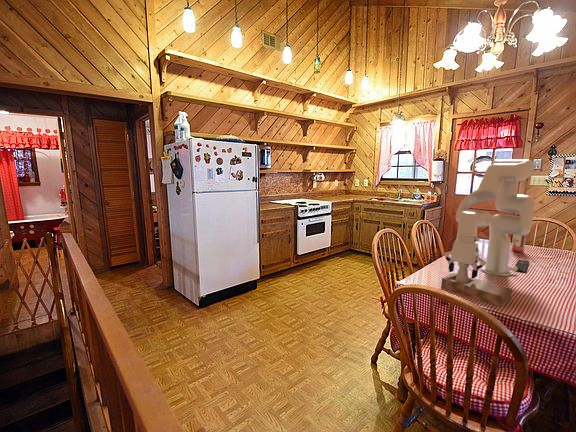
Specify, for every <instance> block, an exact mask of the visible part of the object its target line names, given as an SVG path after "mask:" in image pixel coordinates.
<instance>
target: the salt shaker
mask: <svg viewBox="0 0 576 432" xmlns="http://www.w3.org/2000/svg"><path fill="white" fill-rule="evenodd" d="M457 265H458V267H459V269H458V271H457V276H456V279H455V281H458V282H462V283H465V284H468V283H469V282H468V277H469V275H468V274H469V273H468V268H470V265H468V264H464V263H460V262H457Z"/></svg>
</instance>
